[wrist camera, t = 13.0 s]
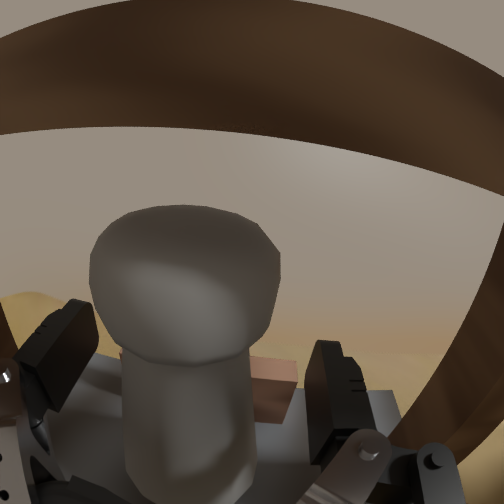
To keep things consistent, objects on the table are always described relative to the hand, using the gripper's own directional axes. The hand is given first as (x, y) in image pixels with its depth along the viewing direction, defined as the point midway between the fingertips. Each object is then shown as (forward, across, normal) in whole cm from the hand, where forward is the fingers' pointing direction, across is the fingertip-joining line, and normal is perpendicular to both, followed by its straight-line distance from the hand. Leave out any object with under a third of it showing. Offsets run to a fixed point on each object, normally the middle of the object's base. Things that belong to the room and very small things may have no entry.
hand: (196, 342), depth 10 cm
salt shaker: (-2, 0, +8) cm, 8 cm away
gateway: (-2, 0, +9) cm, 9 cm away
